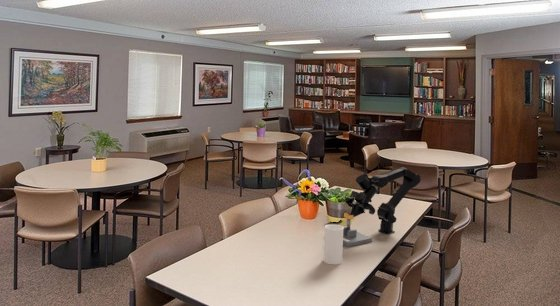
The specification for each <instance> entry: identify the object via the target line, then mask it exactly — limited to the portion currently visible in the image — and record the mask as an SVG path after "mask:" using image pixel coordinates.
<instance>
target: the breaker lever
mask: <svg viewBox="0 0 560 306" xmlns="http://www.w3.org/2000/svg"><path fill="white" fill-rule="evenodd" d="M344 219H346V227H347V232H348V231H349V230H350V229H351V220H354V218H353V215H352V214H350V213H349V212H345V213H344Z"/></svg>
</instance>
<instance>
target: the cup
mask: <svg viewBox="0 0 560 306" xmlns="http://www.w3.org/2000/svg"><path fill="white" fill-rule="evenodd" d="M343 227H344V226H343V225H341V224H338V223H331V224H325V226H324V241H323V242H324V244H323V262H324V263H325V264H328V265H332V264H333V265H334V266H336V265H341V264H342V263H343V252H344V251H343V246H344V245H343Z"/></svg>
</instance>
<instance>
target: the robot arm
mask: <svg viewBox="0 0 560 306" xmlns="http://www.w3.org/2000/svg"><path fill="white" fill-rule="evenodd" d="M400 178H402V183H401V185H400V186H399V188H398V189H397V190H396V192H395V193H394V194H393V195H392V196H391V198H389V200H388V201H387V202H382V203H381V204H380V205H379V206H378V207H377V208H378V209H377V210H376V209H375V207H374V206H373V205H372V204H371V203H372V201H373V200H372V199H373V198H374V196H375V195H380V189H383V188H385V187H386V186H388V184H389V183H390V182H393V181H394V180H397V179H400ZM421 181H422V180H421V176H420V174H418V173H416V172H413V171H411V170H410V169H408V168H407V167H402V166H401V167H399V168H397V169H395V170H392V171H389V172H387V173H385V174H375V175H372V177H369V176H368V174H367V173H363V174H360V175H358V176H357V177H356V179H355V182H356V184H357V185H358V186H359V188H360V189H361V190H363V191H360V192H358V191H355V190H352V191H351V193H350V196H346V197H345V198H344V202H345V204H347V205H348V207H349V208H351V211H350V213H349V214H352V215H353V219H354V218H355V217H358V216H360V215H362V214H365V213H366V210H367V211H368V213H369V215H374V214H375V213H377V214H376V215H377V217H378V220H380V226H379V227H380V229H378V232H380V233H384V234H386V235H387V234H388V235H389V234H392V233H395V230H394V229H393V228H394V224H395V223H396V222H397V217H396V216H395V213H396V208H397V206H398V205H399V204H400V203H401V201H402V200H403V199H404V197H405V196H406V195H407V193H408V192H410V190H411V189H414V188H416V187H417V186H418V185H419V184H420V183H421ZM353 198H354V199H353Z"/></svg>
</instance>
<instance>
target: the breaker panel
mask: <svg viewBox="0 0 560 306" xmlns="http://www.w3.org/2000/svg"><path fill="white" fill-rule="evenodd" d="M371 242H373V238H372V237H371V236H368V235H366V234H363V233H361V232H358V230H357V229H352V228H350V230H349V231H348V232H347V226H343V246H345V247H347V248H350V247H356V246H359V245H363V244H369V243H371Z"/></svg>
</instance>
